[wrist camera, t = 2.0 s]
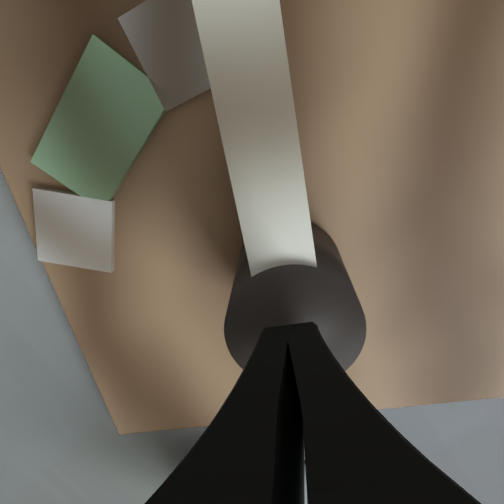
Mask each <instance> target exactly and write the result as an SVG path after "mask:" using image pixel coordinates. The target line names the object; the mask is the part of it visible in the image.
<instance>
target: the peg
mask: <svg viewBox="0 0 504 504" xmlns="http://www.w3.org/2000/svg"><path fill="white" fill-rule="evenodd" d="M192 4H193V9H194V14H195V18H196V23H197V27H198V32H199V37H200V41H201V46H202V50H203V55H204V60H205V64H206V69H207V74H208V78H209V83H210V87H211V92H212V97H213V101H214V106H215V111H216V115H217V120H218V124H219V129H220V134H221V138H222V143H223V148H224V152H225V157H226V161H227V166H228V171H229V175H230V180H231V185H232V189H233V194H234V198H235V203H236V208H237V212H238V217H239V222H240V226H241V231H242V235H243V240H244V245H243V247H242V249H241V252H240V255H239V260H238V264H237V268H236V273H235V277H234V281H233V286H232V290H231V294H230V299H229V303H228V307H227V312H226V316H225V321H224V337H225V342H226V345H227V348H228V350H229V352H230V354H231V356H232V357H233V359H234V360H235V362H236V363H237V364H238V365H239V366H240V367H241V368H242V369H244V367H245V366H246V364H247V362H248V360H249V358H250V356H251V354H252V352H253V350H254V347H255V345H256V343H257V341H258V338H259V336H260V334H261V332H262V330H263V329H264V328H267V327H275V326H282V325H290V324H298V323H305V322H314V323H315V324H316V325H317V326H318V329H319V331H320V333H321V335H322V337H323V339H324V341H325V343H326V344H327V346H328V348H329V349H330V351H331V352H332V354H333V355H334V357H335V358H336V360H337V361H338V362H339V364H340V365H341V366H342V368H343V369H344V370H345V371H346V370H347V369H348V368H349V367H350V366H351V365H352V364H353V363H354V362H355V361H356V359H357V358H358V356H359V355H360V353H361V350H362V348H363V346H364V342H365V339H366V319H365V315H364V312H363V309H362V306H361V304H360V301H359V299H358V297H357V294H356V292H355V289H354V287H353V284H352V282H351V280H350V277H349V275H348V272H347V270H346V268H345V265H344V263H343V260H342V258H341V255H340V253H339V251H338V248H337V246H336V244H335V242H334V241H333V239H332V238H331V237H330V236H329V235H328V234H327V233H326V232H325V231H324V230H323V229H322V228H320V227H318V226H317V225H315V224H313V223H311V221H310V213H309V206H308V199H307V192H306V185H305V178H304V171H303V164H302V157H301V150H300V142H299V135H298V128H297V121H296V114H295V107H294V100H293V93H292V86H291V79H290V71H289V64H288V57H287V50H286V43H285V36H284V29H283V22H282V15H281V8H280V0H192Z"/></svg>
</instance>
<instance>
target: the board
mask: <svg viewBox="0 0 504 504" xmlns="http://www.w3.org/2000/svg"><path fill="white" fill-rule="evenodd" d="M280 8H281V15H282V22H283V29H284V36H285V43H286V50H287V57H288V64H289V71H290V79H291V86H292V93H293V100H294V107H295V114H296V121H297V128H298V135H299V142H300V150H301V157H302V164H303V171H304V178H305V185H306V192H307V199H308V206H309V213H310V221H311V223H313V224H315V225H317V226H318V227H320V228H322V229H323V230H324V231H325V232H326V233H327V234H328V235H329V236H330V237H331V238H332V239H333V241H334V242H335V244H336V246H337V248H338V251H339V253H340V255H341V258H342V260H343V263H344V265H345V268H346V270H347V272H348V275H349V277H350V280H351V282H352V284H353V287H354V289H355V292H356V294H357V297H358V299H359V301H360V304H361V306H362V309H363V312H364V315H365V319H366V339H365V342H364V346H363V348H362V350H361V353H360V355H359V356H358V358H357V359H356V361H355V362H354V363H353V364H352V365H351V366H350V367H349V368H348V369H347V370H346V371H345V372H346V373H347V374H348V376H349V377H350V378H351V380H352V381H353V382H354V383H355V385H356V386H357V387H358V388H359V389H360V391H361V392H362V393H363V394H364V395H365V396H366V398H367V399H368V400H369V401H370V402H371V403H372V404H373V406H374V407H375V408H376V409H386V408H396V407H407V406H417V405H427V404H437V403H448V402H458V401H468V400H478V399H489V398H499V397H504V0H280ZM0 168H1V170H2V172H3V175H4V177H5V179H6V181H7V184H8V186H9V188H10V190H11V193H12V195H13V197H14V199H15V202H16V204H17V206H18V208H19V211H20V213H21V215H22V217H23V220H24V222H25V224H26V226H27V229H28V231H29V233H30V235H31V238H32V240H33V242H34V244H35V247H36V249H37V255H38V261H42V262H43V265H44V267H45V269H46V271H47V274H48V276H49V278H50V280H51V283H52V285H53V287H54V289H55V292H56V294H57V296H58V298H59V300H60V303H61V305H62V307H63V309H64V312H65V314H66V316H67V318H68V321H69V323H70V325H71V327H72V330H73V332H74V334H75V336H76V339H77V341H78V343H79V345H80V348H81V350H82V352H83V354H84V357H85V359H86V361H87V363H88V366H89V368H90V370H91V372H92V375H93V377H94V379H95V381H96V384H97V386H98V388H99V390H100V393H101V395H102V397H103V399H104V402H105V404H106V406H107V408H108V411H109V413H110V415H111V417H112V420H113V422H114V424H115V426H116V429H117V431H118V433H119V435H120V434H130V433H140V432H150V431H161V430H171V429H181V428H191V427H202V426H209V425H210V423H211V422H212V420H213V419H214V417H215V416H216V414H217V413H218V411H219V410H220V408H221V406H222V405H223V403H224V402H225V400H226V399H227V397H228V395H229V394H230V392H231V391H232V389H233V387H234V386H235V384H236V382H237V380H238V378H239V377H240V375H241V373H242V371H243V369H242V368H241V367H240V366H239V365H238V364H237V363H236V362H235V360H234V359H233V357H232V356H231V354H230V352H229V350H228V348H227V345H226V342H225V337H224V321H225V316H226V312H227V307H228V303H229V299H230V294H231V290H232V286H233V281H234V277H235V273H236V268H237V264H238V260H239V255H240V252H241V249H242V247H243V245H244V240H243V235H242V231H241V226H240V222H239V217H238V212H237V208H236V203H235V198H234V194H233V189H232V185H231V180H230V175H229V171H228V166H227V161H226V157H225V152H224V148H223V143H222V138H221V134H220V129H219V124H218V120H217V115H216V111H215V106H214V101H213V97H212V92H211V87H210V83H209V78H208V74H207V69H206V64H205V60H204V55H203V50H202V46H201V41H200V37H199V32H198V27H197V23H196V18H195V14H194V9H193V4H192V0H0Z"/></svg>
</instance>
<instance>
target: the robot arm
mask: <svg viewBox="0 0 504 504" xmlns="http://www.w3.org/2000/svg"><path fill="white" fill-rule="evenodd" d="M304 448H305V466H306V484H307V504H481V503H480V502H478V501H477V500H476V499H475V498H474V497H472V496H471V495H470V494H469V493H468V492H466V491H465V490H464V489H463V488H462V487H460V486H459V485H458V484H457V483H456V482H455V481H453V480H452V479H451V478H450V477H449V476H447V475H446V474H445V473H444V472H443V471H441V470H440V469H439V468H438V467H437V466H435V465H434V464H433V463H432V462H431V461H429V460H428V459H427V458H426V457H425V456H424V455H423V454H422V453H421V452H420V451H419V450H417V449H416V448H415V447H414V446H413V445H412V444H411V443H410V442H409V441H408V440H407V439H406V438H405V437H403V436H402V435H401V434H400V433H399V432H398V431H397V430H396V429H395V428H394V427H393V426H392V425H391V424H390V423H389V422H388V421H387V420H386V418H385V417H384V416H383V415H382V414H381V413H380V412H379V411H378V410H377V409H376V408H375V407H374V406H373V404H372V403H371V402H370V401H369V400H368V399H367V398H366V396H365V395H364V394H363V393H362V392H361V391H360V389H359V388H358V387H357V386H356V385H355V383H354V382H353V381H352V380H351V378H350V377H349V376H348V374H347V373H346V372H345V370H344V369H343V368H342V366H341V365H340V364H339V362H338V361H337V360H336V358H335V357H334V355H333V354H332V352H331V351H330V349H329V348H328V346H327V344H326V343H325V341H324V339H323V337H322V335H321V333H320V331H319V329H318V326H317V325H316V324H315V323H314V322H305V323H298V324H290V325H282V326H275V327H267V328H264V329H263V330H262V332H261V334H260V336H259V338H258V341H257V343H256V345H255V347H254V350H253V352H252V354H251V356H250V358H249V360H248V362H247V364H246V366H245V367H244V369H243V371H242V373H241V375H240V377H239V378H238V380H237V382H236V384H235V386H234V387H233V389H232V391H231V392H230V394H229V395H228V397H227V399H226V400H225V402H224V403H223V405H222V406H221V408H220V410H219V411H218V413H217V414H216V416H215V417H214V419H213V420H212V422H211V423H210V425H209V426H208V427H207V429H206V430H205V432H204V433H203V434H202V436H201V437H200V438H199V440H198V441H197V442H196V444H195V445H194V446H193V448H192V449H191V450H190V452H189V453H188V454H187V455H186V457H185V458H184V459H183V460H182V461H181V463H180V464H179V465H178V466H177V467H176V468H175V470H174V471H173V472H172V473H171V474H170V476H169V477H168V478H167V479H166V480H165V482H164V483H163V484H162V485H161V486H160V487H159V488H158V489H157V491H156V492H155V493H154V494H153V495H152V496H151V497H150V498H149V499H148V501H147V502H146V503H145V504H305V491H304Z"/></svg>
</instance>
